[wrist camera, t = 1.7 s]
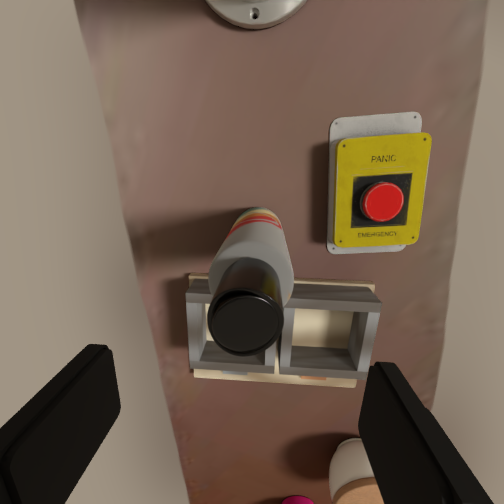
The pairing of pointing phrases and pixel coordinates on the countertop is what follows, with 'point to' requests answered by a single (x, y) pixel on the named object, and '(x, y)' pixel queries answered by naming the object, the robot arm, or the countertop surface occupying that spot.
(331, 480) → the lidded jar
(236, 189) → the countertop surface
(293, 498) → the pepper mill
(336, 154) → the emergency button
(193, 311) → the socket board
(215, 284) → the lotion bottle
